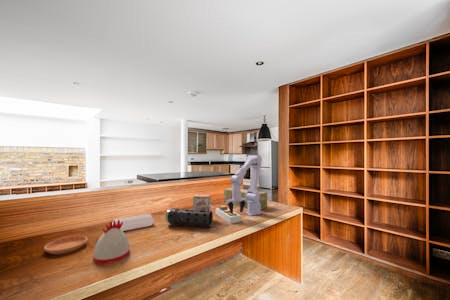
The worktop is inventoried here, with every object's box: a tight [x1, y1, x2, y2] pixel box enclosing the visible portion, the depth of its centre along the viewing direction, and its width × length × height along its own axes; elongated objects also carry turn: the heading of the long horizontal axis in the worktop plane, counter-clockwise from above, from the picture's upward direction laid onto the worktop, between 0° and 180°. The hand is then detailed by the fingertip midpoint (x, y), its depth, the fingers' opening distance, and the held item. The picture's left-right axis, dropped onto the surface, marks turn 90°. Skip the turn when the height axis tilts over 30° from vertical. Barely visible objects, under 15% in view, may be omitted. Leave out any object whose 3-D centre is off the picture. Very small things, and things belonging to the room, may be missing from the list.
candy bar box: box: [192, 194, 211, 211], centre depth 134 cm, size 11×5×16 cm, turn 84°
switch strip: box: [215, 207, 242, 224], centre depth 139 cm, size 8×24×4 cm, turn 25°
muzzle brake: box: [164, 208, 214, 229], centre depth 122 cm, size 10×28×10 cm, turn 78°
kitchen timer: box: [92, 220, 131, 265], centre depth 87 cm, size 14×14×15 cm
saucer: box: [43, 235, 89, 256], centre depth 93 cm, size 16×16×3 cm
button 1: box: [218, 204, 228, 211], centre depth 145 cm, size 4×4×3 cm
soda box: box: [223, 187, 268, 210], centre depth 175 cm, size 40×14×13 cm, turn 43°
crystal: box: [112, 213, 154, 232], centre depth 120 cm, size 7×7×24 cm
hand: (236, 212), depth 134 cm, fingers open, 7 cm apart
